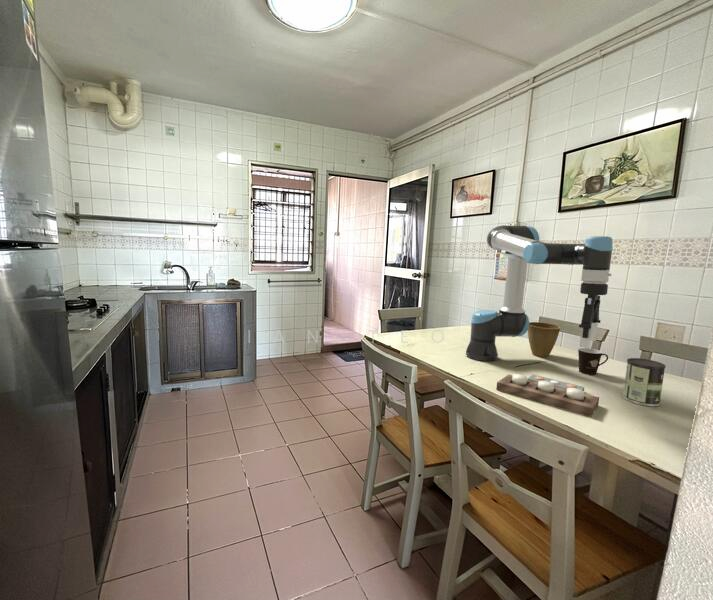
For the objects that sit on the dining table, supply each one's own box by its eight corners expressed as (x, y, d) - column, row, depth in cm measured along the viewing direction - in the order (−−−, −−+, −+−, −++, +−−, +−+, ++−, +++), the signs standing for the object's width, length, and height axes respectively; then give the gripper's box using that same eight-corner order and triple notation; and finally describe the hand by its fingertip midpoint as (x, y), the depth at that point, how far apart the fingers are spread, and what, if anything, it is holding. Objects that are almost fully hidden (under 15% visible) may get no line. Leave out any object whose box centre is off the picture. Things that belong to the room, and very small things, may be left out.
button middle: (535, 389, 120) (536, 383, 120) (540, 386, 124) (540, 379, 123) (551, 393, 117) (552, 387, 116) (555, 389, 120) (555, 383, 120)
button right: (564, 397, 114) (565, 390, 114) (568, 393, 117) (568, 386, 117) (581, 402, 110) (582, 394, 110) (585, 397, 114) (585, 390, 114)
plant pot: (521, 355, 172) (523, 324, 170) (528, 349, 183) (531, 320, 181) (554, 361, 163) (557, 329, 160) (559, 355, 174) (563, 324, 172)
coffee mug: (577, 373, 146) (579, 351, 145) (574, 368, 154) (577, 346, 152) (609, 378, 141) (612, 355, 139) (605, 372, 148) (608, 350, 147)
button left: (509, 382, 126) (510, 376, 126) (514, 379, 130) (515, 373, 130) (524, 386, 123) (524, 380, 123) (528, 383, 126) (529, 376, 126)
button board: (496, 389, 127) (496, 382, 126) (508, 381, 135) (508, 374, 135) (591, 417, 106) (592, 408, 106) (598, 405, 115) (599, 397, 114)
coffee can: (656, 398, 121) (661, 361, 120) (663, 409, 113) (669, 369, 111) (620, 392, 127) (625, 356, 125) (624, 401, 118) (629, 363, 116)
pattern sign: (526, 383, 134) (527, 377, 133) (532, 379, 139) (532, 373, 138) (579, 397, 121) (580, 391, 121) (583, 391, 126) (584, 386, 126)
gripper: (603, 285, 102) (595, 352, 104) (612, 282, 120) (605, 339, 123) (574, 283, 107) (567, 348, 109) (587, 280, 125) (581, 336, 128)
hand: (587, 343), depth 116 cm, fingers open, 13 cm apart
